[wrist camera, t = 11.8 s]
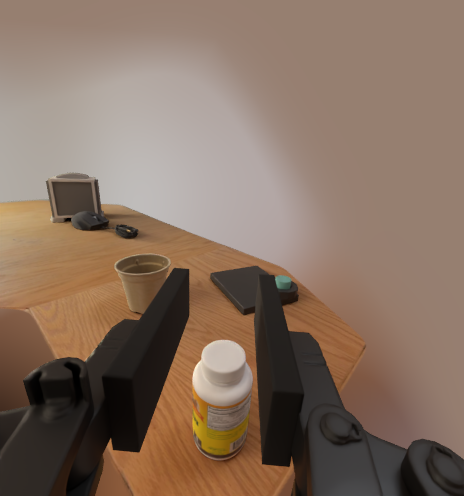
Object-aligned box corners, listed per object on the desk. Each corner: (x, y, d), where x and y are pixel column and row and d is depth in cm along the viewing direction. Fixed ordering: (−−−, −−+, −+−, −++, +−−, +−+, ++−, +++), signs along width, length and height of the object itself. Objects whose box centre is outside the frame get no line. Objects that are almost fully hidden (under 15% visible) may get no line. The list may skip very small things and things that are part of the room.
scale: (301, 301, 51) (304, 288, 50) (244, 316, 45) (246, 302, 44) (258, 270, 64) (259, 259, 63) (210, 278, 58) (210, 266, 57)
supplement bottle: (197, 405, 28) (198, 331, 25) (246, 409, 28) (254, 335, 24) (186, 461, 23) (186, 377, 19) (246, 467, 23) (256, 383, 19)
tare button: (293, 288, 50) (294, 280, 50) (280, 291, 49) (282, 283, 48) (283, 281, 53) (284, 274, 52) (271, 284, 52) (272, 276, 51)
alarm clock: (103, 213, 115) (99, 173, 109) (103, 220, 104) (97, 175, 98) (56, 215, 107) (48, 171, 101) (50, 222, 96) (41, 173, 90)
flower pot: (108, 307, 45) (102, 263, 42) (150, 287, 53) (147, 249, 50) (141, 327, 40) (137, 279, 37) (182, 302, 48) (181, 261, 45)
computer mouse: (87, 221, 101) (85, 208, 99) (147, 234, 88) (147, 219, 86) (63, 226, 92) (61, 211, 91) (127, 241, 80) (125, 224, 78)
